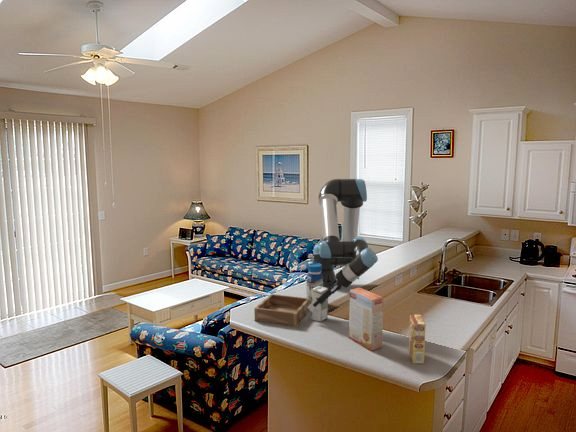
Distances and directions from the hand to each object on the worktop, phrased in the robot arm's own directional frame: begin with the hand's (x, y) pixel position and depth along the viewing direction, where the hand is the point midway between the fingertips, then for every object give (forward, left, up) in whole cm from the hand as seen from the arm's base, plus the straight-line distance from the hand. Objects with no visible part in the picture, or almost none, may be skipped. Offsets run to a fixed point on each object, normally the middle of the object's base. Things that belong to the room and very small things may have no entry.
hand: (312, 306), depth 194 cm
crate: (+2, -13, -5) cm, 15 cm away
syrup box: (0, +4, -6) cm, 7 cm away
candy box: (+23, +48, -6) cm, 53 cm away
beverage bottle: (-18, -4, -6) cm, 19 cm away
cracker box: (+17, +28, -6) cm, 33 cm away
